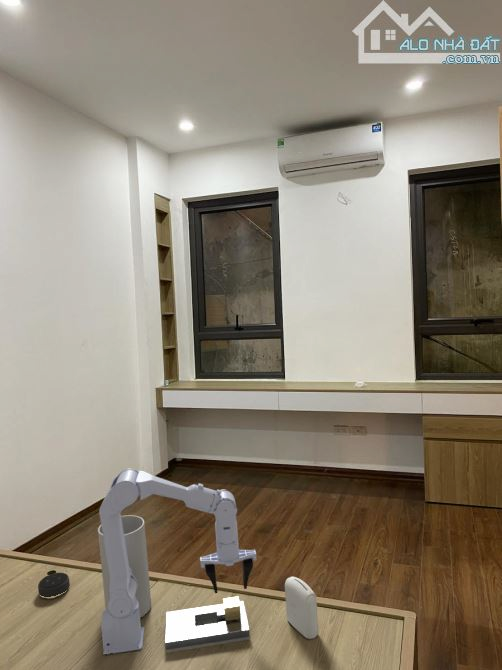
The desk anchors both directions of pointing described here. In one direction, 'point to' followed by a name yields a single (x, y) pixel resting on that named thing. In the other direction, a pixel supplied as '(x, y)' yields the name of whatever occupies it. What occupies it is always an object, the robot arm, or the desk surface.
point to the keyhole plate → (203, 628)
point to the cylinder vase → (130, 560)
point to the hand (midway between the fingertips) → (230, 588)
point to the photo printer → (301, 607)
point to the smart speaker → (53, 584)
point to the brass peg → (232, 608)
